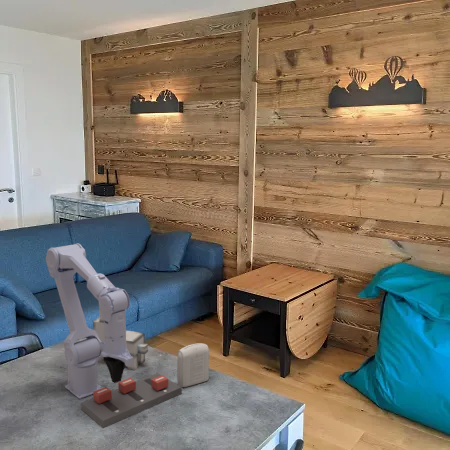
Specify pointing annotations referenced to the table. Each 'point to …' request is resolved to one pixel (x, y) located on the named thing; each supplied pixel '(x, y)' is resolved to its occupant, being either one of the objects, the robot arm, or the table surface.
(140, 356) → the toy llama
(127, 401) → the slider switch panel
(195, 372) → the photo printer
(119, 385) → the switch
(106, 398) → the switch
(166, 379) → the switch
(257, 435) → the table surface
